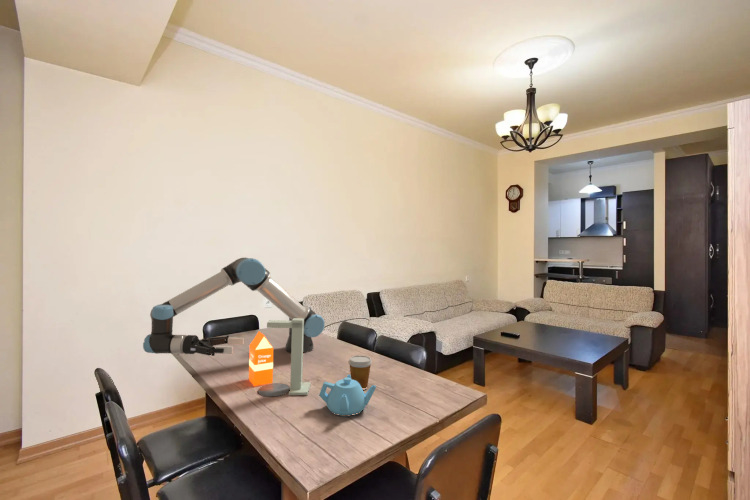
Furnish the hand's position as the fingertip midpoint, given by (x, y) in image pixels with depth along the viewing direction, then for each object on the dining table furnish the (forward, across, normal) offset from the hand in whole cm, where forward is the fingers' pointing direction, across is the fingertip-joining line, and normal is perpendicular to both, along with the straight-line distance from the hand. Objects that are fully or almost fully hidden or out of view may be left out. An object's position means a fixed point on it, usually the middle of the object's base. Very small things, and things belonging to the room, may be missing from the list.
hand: (238, 345), depth 145 cm
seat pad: (+18, +10, -14) cm, 25 cm away
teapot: (+46, +26, -14) cm, 55 cm away
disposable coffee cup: (+51, +8, -14) cm, 54 cm away
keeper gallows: (+23, +10, -14) cm, 29 cm away
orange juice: (+10, +1, -15) cm, 18 cm away
